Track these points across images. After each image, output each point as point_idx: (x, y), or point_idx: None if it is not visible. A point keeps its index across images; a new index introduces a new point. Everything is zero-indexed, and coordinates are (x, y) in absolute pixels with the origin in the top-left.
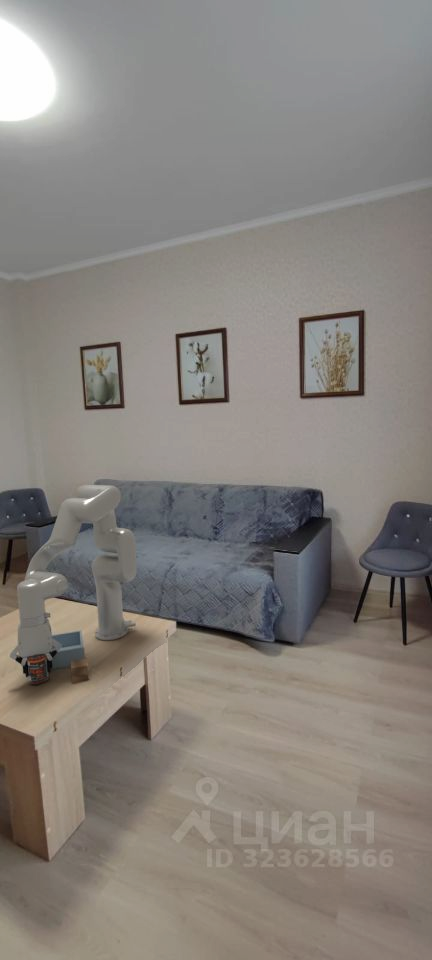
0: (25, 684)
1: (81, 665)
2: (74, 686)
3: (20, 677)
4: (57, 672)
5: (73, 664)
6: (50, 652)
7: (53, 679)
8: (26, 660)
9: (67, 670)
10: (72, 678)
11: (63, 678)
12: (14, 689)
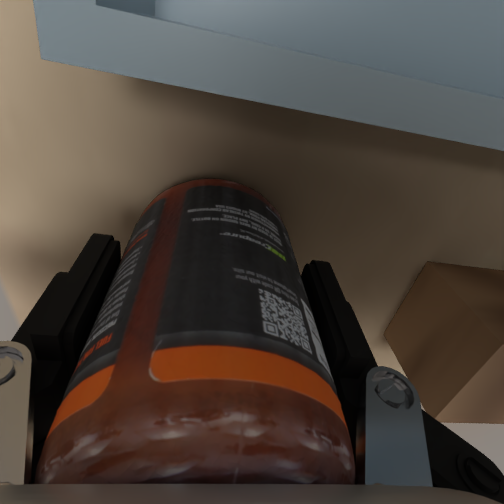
0: (111, 228)
1: (501, 416)
2: (376, 361)
3: (39, 74)
4: (369, 174)
5: (475, 392)
6: (407, 449)
7: (309, 256)
8: (49, 393)
9: (442, 184)
10: (398, 356)
11: (367, 273)
12: (34, 256)
